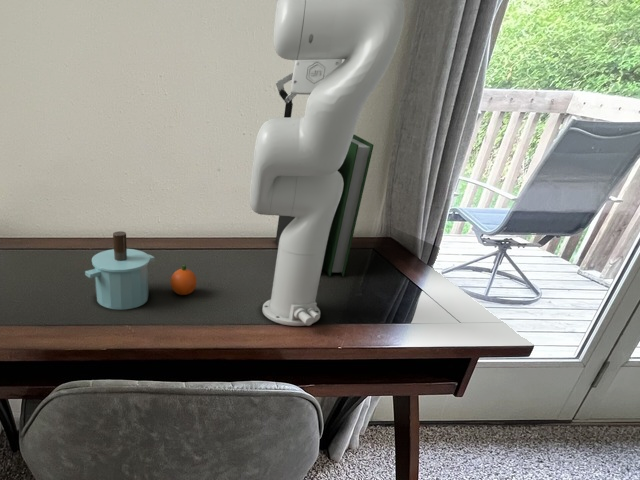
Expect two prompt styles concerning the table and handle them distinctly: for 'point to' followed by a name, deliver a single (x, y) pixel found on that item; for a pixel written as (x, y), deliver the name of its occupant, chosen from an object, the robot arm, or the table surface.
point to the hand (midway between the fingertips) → (309, 122)
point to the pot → (121, 287)
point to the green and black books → (343, 206)
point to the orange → (183, 281)
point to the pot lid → (120, 257)
